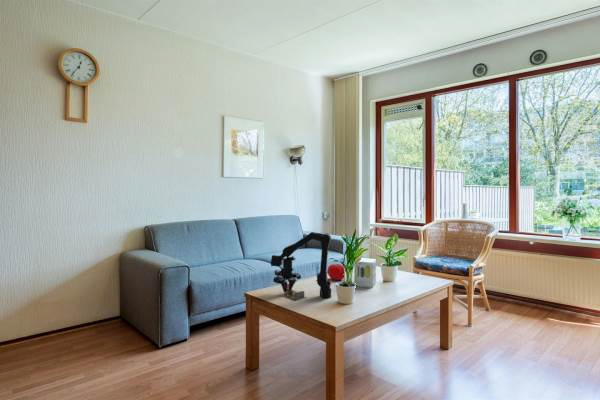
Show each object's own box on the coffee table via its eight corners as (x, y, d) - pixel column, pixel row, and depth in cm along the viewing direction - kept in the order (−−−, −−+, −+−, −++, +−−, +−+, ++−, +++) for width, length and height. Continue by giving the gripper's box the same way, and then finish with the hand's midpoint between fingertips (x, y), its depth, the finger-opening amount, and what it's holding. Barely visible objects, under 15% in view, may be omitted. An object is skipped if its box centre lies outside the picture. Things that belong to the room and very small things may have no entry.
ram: (294, 294, 226) (294, 285, 225) (288, 296, 222) (288, 286, 222) (288, 292, 229) (288, 283, 229) (282, 294, 226) (282, 284, 226)
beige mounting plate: (307, 298, 221) (307, 290, 221) (295, 302, 214) (295, 294, 214) (290, 293, 232) (290, 285, 231) (279, 296, 225) (279, 288, 224)
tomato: (342, 282, 259) (342, 266, 258) (324, 280, 264) (324, 264, 264) (347, 278, 270) (347, 263, 269) (330, 276, 275) (330, 261, 275)
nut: (298, 297, 222) (298, 291, 222) (294, 298, 219) (294, 292, 219) (294, 295, 224) (295, 290, 224) (290, 296, 222) (290, 291, 222)
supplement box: (353, 285, 251) (354, 260, 250) (357, 281, 263) (357, 257, 263) (372, 288, 246) (373, 262, 246) (375, 283, 259) (376, 258, 258)
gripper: (289, 262, 238) (289, 286, 239) (267, 266, 225) (267, 291, 226) (301, 265, 230) (301, 289, 231) (279, 270, 217) (279, 295, 218)
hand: (287, 291), depth 227 cm, fingers open, 4 cm apart
